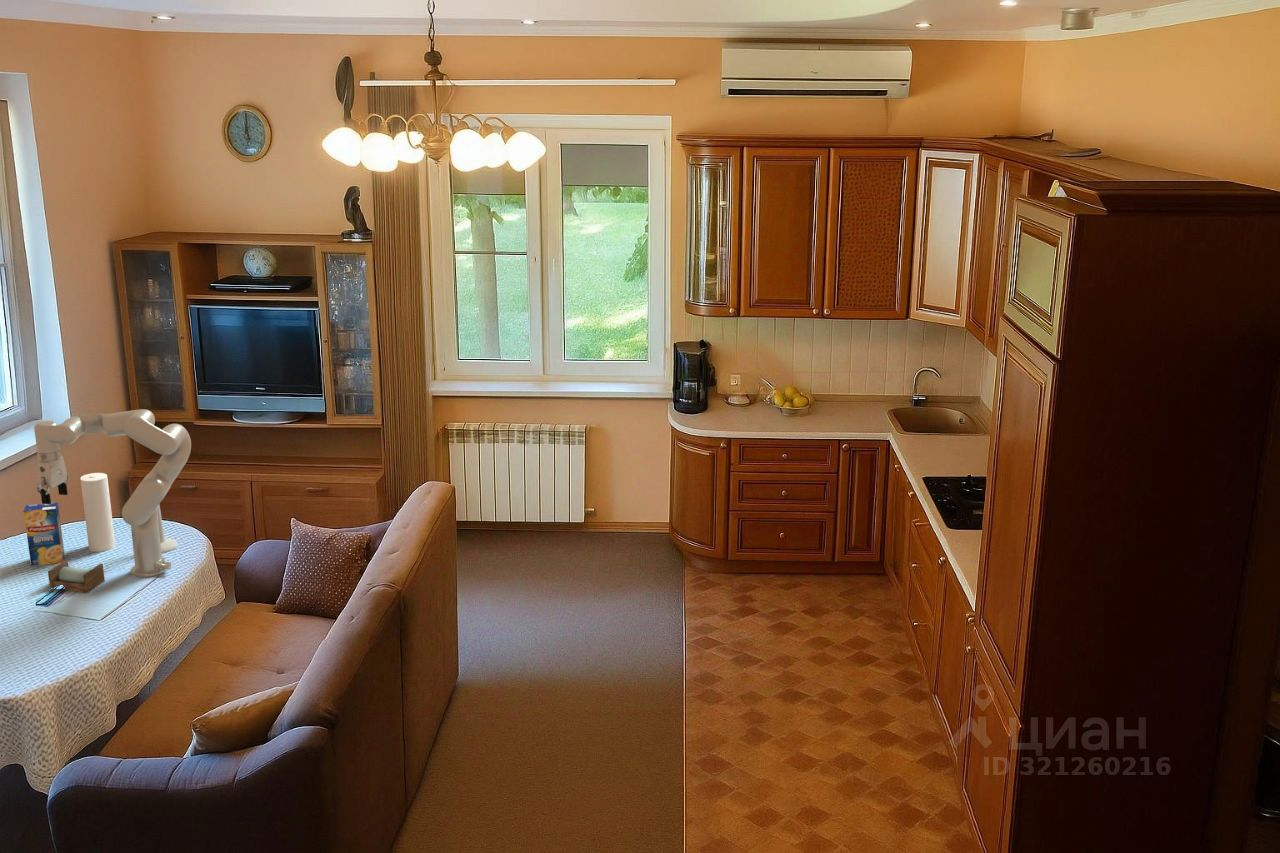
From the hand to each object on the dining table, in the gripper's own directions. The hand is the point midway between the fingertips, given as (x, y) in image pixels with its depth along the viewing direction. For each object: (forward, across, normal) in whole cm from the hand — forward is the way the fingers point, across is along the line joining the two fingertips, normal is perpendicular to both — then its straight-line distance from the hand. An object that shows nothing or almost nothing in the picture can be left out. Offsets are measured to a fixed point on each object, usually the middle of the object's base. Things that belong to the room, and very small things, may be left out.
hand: (55, 499), depth 409 cm
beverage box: (+30, +9, +13) cm, 34 cm away
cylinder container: (+30, +25, 0) cm, 39 cm away
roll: (+29, -8, -11) cm, 32 cm away
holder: (+30, -8, -11) cm, 33 cm away
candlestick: (+30, +29, -22) cm, 47 cm away
